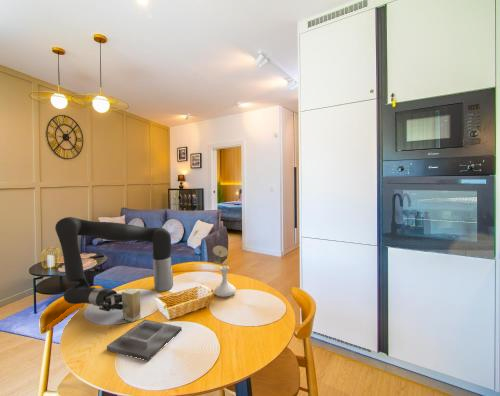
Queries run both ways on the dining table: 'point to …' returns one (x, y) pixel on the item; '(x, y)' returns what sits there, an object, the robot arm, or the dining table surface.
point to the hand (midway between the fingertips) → (130, 302)
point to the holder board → (144, 339)
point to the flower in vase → (223, 274)
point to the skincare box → (131, 304)
